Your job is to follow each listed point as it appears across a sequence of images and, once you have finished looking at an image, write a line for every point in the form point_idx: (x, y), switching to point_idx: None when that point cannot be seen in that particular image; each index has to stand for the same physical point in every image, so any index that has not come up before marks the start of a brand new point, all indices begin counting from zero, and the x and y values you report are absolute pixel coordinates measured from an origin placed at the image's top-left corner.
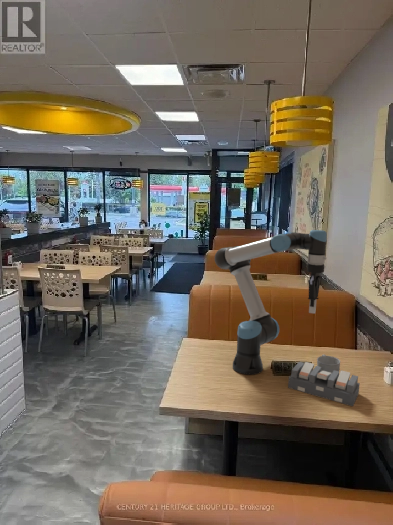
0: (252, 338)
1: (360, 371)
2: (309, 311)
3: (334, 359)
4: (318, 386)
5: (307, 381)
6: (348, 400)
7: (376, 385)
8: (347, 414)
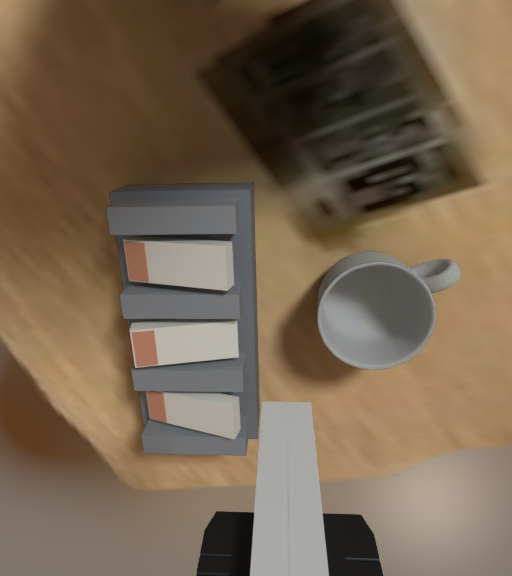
0: None
1: (474, 390)
2: (262, 421)
3: (421, 332)
4: (129, 321)
5: None
6: None
7: (367, 448)
8: (97, 403)
